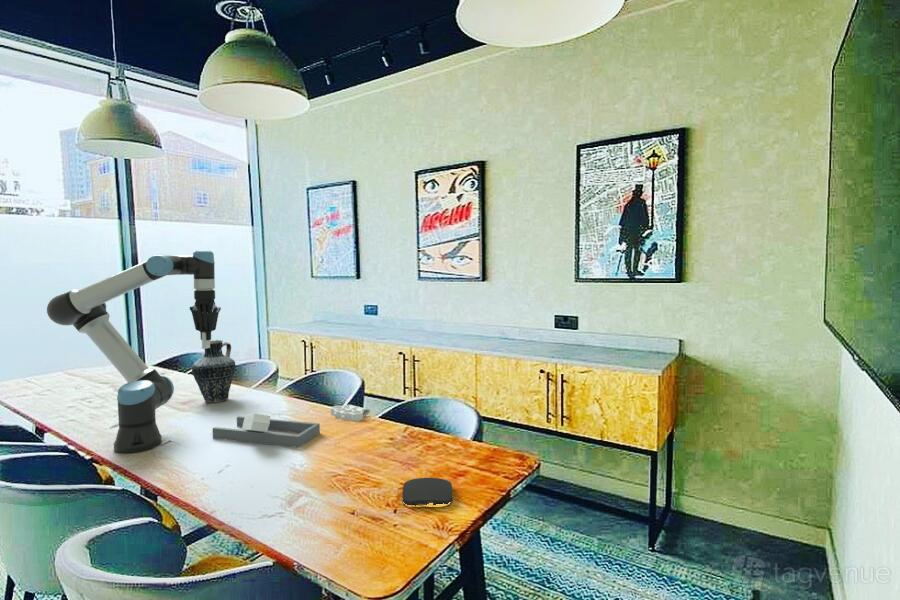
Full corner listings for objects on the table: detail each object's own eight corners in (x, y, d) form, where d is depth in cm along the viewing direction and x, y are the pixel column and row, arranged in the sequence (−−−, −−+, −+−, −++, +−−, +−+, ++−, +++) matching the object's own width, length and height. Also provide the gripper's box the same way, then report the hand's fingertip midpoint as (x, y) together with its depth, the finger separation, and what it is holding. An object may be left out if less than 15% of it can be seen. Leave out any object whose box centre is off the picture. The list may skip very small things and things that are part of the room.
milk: (256, 431, 200) (269, 432, 182) (241, 430, 197) (252, 430, 179) (260, 416, 202) (272, 415, 184) (244, 414, 199) (255, 413, 181)
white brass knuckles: (374, 416, 224) (350, 424, 212) (347, 408, 234) (323, 416, 222) (374, 408, 223) (350, 416, 212) (347, 402, 234) (323, 409, 222)
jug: (219, 407, 233) (217, 345, 231) (183, 404, 237) (181, 343, 235) (245, 396, 254) (244, 338, 251) (212, 393, 257) (211, 337, 255)
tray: (298, 447, 184) (298, 436, 183) (212, 438, 192) (212, 428, 192) (319, 433, 199) (319, 423, 199) (239, 425, 208) (239, 416, 208)
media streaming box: (451, 485, 154) (451, 476, 153) (453, 509, 139) (453, 498, 139) (404, 486, 153) (404, 476, 153) (401, 509, 138) (401, 499, 138)
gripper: (225, 289, 198) (226, 347, 199) (197, 288, 201) (199, 345, 203) (211, 290, 191) (213, 350, 192) (183, 289, 194) (185, 348, 195)
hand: (206, 348), depth 197 cm, fingers closed
